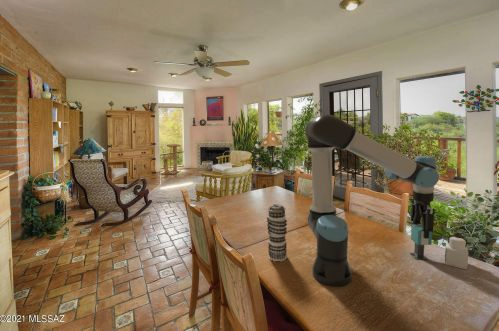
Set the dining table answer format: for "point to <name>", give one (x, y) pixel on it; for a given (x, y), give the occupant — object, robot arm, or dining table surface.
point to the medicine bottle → (456, 252)
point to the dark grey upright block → (419, 252)
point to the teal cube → (419, 235)
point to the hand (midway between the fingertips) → (420, 241)
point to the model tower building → (277, 233)
